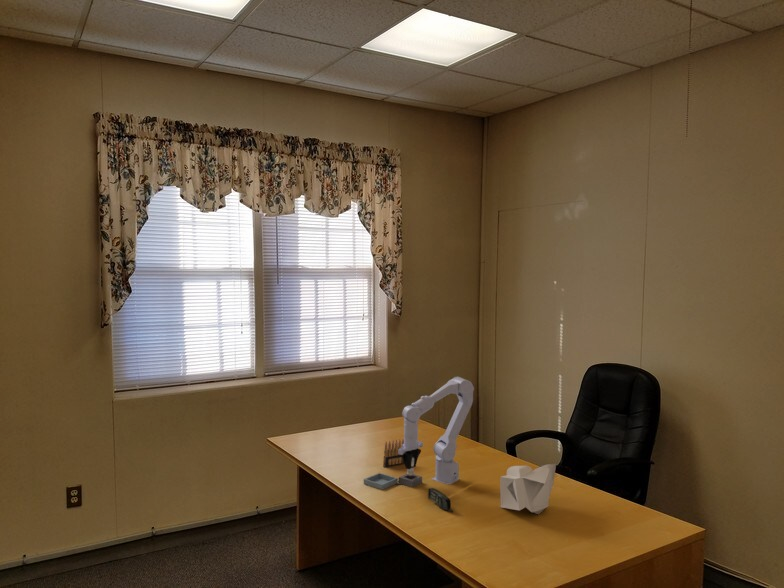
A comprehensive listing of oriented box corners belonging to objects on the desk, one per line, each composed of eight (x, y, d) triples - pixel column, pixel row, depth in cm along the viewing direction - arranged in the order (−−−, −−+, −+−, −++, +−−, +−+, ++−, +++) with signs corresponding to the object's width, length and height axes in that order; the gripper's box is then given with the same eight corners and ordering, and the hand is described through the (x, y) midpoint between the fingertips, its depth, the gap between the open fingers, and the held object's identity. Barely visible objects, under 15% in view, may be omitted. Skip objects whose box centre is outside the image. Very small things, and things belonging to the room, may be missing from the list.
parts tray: (397, 484, 242) (397, 478, 242) (382, 491, 234) (382, 484, 234) (379, 478, 248) (379, 472, 248) (363, 485, 241) (363, 479, 241)
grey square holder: (422, 483, 243) (422, 476, 243) (412, 488, 237) (412, 481, 237) (408, 479, 247) (408, 472, 247) (398, 484, 242) (398, 477, 242)
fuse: (415, 474, 242) (415, 457, 242) (411, 476, 240) (411, 459, 240) (409, 472, 244) (410, 456, 244) (405, 474, 242) (405, 458, 242)
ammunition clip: (403, 463, 268) (403, 438, 267) (405, 464, 266) (405, 439, 266) (383, 467, 263) (383, 441, 262) (385, 468, 261) (385, 442, 260)
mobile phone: (426, 487, 226) (448, 500, 213) (433, 486, 228) (455, 498, 214) (426, 500, 226) (448, 513, 213) (433, 499, 228) (455, 512, 214)
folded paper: (496, 463, 217) (532, 481, 203) (540, 452, 231) (576, 468, 217) (493, 507, 219) (528, 527, 205) (536, 494, 233) (571, 512, 219)
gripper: (413, 429, 250) (413, 461, 250) (392, 437, 238) (392, 470, 239) (427, 432, 245) (426, 464, 246) (405, 440, 234) (405, 473, 234)
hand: (410, 467), depth 242 cm, fingers closed on fuse, 3 cm apart
